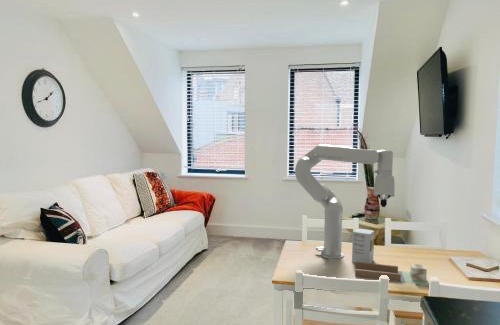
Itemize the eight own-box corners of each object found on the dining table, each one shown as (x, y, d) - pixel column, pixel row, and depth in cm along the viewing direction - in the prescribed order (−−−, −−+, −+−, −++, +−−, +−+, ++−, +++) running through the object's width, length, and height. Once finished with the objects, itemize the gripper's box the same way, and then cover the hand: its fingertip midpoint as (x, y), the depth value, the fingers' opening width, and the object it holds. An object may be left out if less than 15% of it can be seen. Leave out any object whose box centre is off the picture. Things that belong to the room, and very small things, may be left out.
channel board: (355, 278, 167) (355, 270, 167) (355, 267, 181) (355, 260, 180) (429, 286, 158) (430, 278, 158) (423, 274, 172) (424, 267, 172)
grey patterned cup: (411, 280, 164) (412, 267, 163) (410, 275, 169) (410, 263, 169) (426, 282, 162) (426, 269, 161) (424, 277, 167) (424, 264, 167)
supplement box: (369, 266, 183) (370, 234, 181) (351, 262, 188) (352, 231, 186) (373, 260, 191) (374, 230, 189) (356, 257, 196) (357, 227, 194)
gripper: (370, 173, 188) (369, 207, 189) (400, 174, 184) (399, 209, 185) (369, 171, 195) (368, 204, 197) (398, 172, 191) (397, 206, 192)
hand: (383, 206), depth 191 cm, fingers closed
